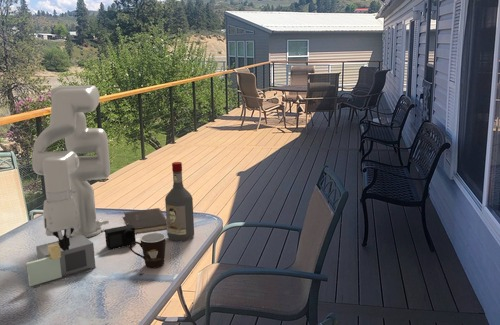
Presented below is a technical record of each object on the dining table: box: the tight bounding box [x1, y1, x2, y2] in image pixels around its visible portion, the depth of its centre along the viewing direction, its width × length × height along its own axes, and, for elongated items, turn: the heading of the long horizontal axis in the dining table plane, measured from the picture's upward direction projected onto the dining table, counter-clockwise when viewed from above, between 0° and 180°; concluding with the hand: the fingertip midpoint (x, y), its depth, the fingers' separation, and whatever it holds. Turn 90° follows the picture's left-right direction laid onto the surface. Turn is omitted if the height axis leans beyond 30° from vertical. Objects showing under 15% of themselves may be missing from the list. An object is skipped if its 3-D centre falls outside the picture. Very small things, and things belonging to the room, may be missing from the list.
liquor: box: [164, 161, 195, 243], centre depth 205 cm, size 9×9×30 cm
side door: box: [25, 243, 62, 287], centre depth 169 cm, size 10×3×12 cm, turn 128°
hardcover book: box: [123, 207, 167, 234], centre depth 226 cm, size 16×23×2 cm
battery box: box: [32, 235, 96, 288], centre depth 178 cm, size 21×12×9 cm, turn 128°
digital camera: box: [104, 224, 137, 251], centre depth 200 cm, size 10×5×7 cm, turn 118°
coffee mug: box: [129, 232, 167, 269], centre depth 183 cm, size 12×9×10 cm
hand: (64, 248), depth 172 cm, fingers closed
